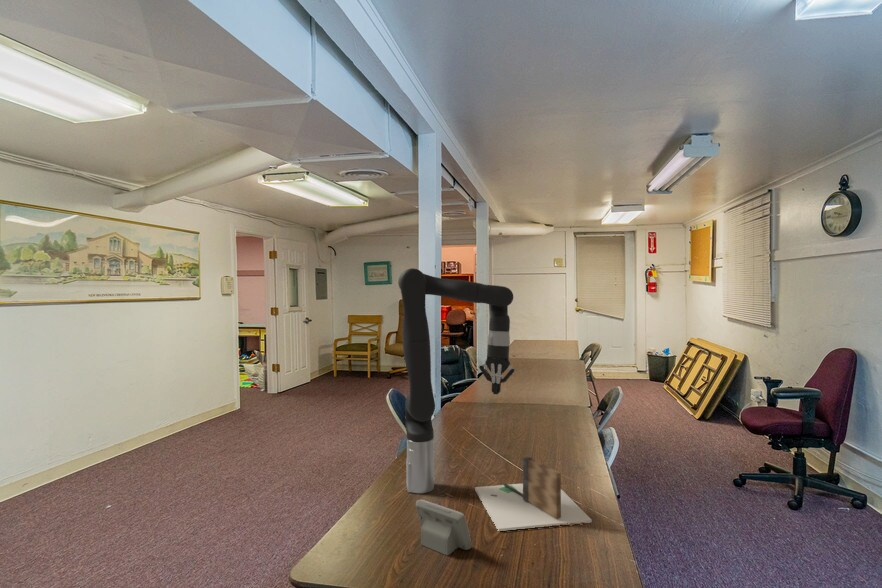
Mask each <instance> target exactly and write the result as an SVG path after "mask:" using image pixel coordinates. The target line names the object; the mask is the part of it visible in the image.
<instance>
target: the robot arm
mask: <svg viewBox="0 0 882 588" xmlns="http://www.w3.org/2000/svg"><path fill="white" fill-rule="evenodd" d="M397 282H398V287H399V289H400V294H401V299H402V300H401V301H402V306H403V319H402V332H401V333H402V352H403V357H404V363H405V366H406V370H407V371H406V372H407V373H408V379H409V381H408V382H409V393H408V394H407V396H406V398H405V403H404V409H405V410H404V411H405V412H404V413H405V414H404V415H405V418H404V419H405V431H406V459H405V462H406V464H405V468H406V469H405V470H406V471H405V472H406V473H405V474H406V477H405V478H406V479H405V480H406V485H405V486H406V489H407V492H408V493H414V494H427V493H429V492H431V491H434V488H435V461H434V460H435V458H434V457H435V456H434V455H435V454H434V453H435V452H434V451H435V449H434V448H435V447H434V445H435V443H434V441H435V439H434V438H435V437H434V427H433V423H432V422H433V421H432V417H433V415H434V413H435V411H436V410H435V409H436V403H435V402H436V401H435V397H434V392H433V383H432V376H431V375H432V369H431V368H432V364H431V363H432V360H431V359H432V358H431V340H430V339H431V338H430V330H429V323H428V318H427V312H426V311H427V310H426V295H429V296H438V297H439V296H440V297H444V298H449V299H452V300H456V301H461V302H468V303H474V304H486V305H488V308H489V309H488V310H489V327H488V329H489V330H488V336H487V350H486V351H487V353H486V360H485V361H484V363H483V364H481V365H479V370H480V372H481V373H482V374H483V376H484V378H485V379H486V380H487V382H488V381H489V382H490V383H491V393H492V394H493V395H499V393H501V391H502V390H501V389H502V386H501V385H502V383H503V384H504V383H505V382H508V379H510V377H511V376H512V375H513V374H514V373H515V372H516V368H514V367H513V366H511V363H510V357H509V356H510V344H511V342H510V341H511V340H510V338H511V337H510V329H511V327H510V325H511V319H510V316H509V313H508V309H509V308H508V307H509V306H510V305H511V304H512V302H513V301H514V293H513V292H512V290H511V289H510V288H509V287H506V286H501V285H495V284H494V285H492V284H485V283H480V282H475V281H469V280H462V279H450V278H441V277H437V276H436V277H435V276H432V275H429V274H426V273H424V272H422V271H421V270H419V269H417V268H414V267H413V268H408V269H405V270H404V271H403V272H402V273H400V274H399V277H398V281H397ZM488 370H489V371H488ZM506 371H507V374H505V376H504V377H503V374H504V373H505V372H506ZM490 373H491V374H490Z"/></svg>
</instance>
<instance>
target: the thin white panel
mask: <svg viewBox="0 0 882 588" xmlns="http://www.w3.org/2000/svg"><path fill="white" fill-rule="evenodd" d="M508 485H509V486H510V487H512V488H514V489H515V490H517V491H519V492H520V493H522V494H523V483H513V484H511V483H509V484H508ZM474 491H475V493H476V494H477V496H478V498H479V500H480V502H481V501H482V502H481V503H482V505H483V507H484V509H485V511H486V510H487V511H486V512H487V514H488V516H489V517H491V518H490V519H491V521H492V523H493V522H494V523H493V525H494V524H495V525H494V526H496V527H495V528H496V530H497V529H498V530H497V532H498V531H506V530H516V529H525V528H535V527H544V526H552V525H560V524H567V523H568V524H570V523H581V522H592V523H593V521H592V518H590V516H589V515H588V514H587V513H585V511H584V510H583V509H582V508H581V507H579V505H577V504H576V502H575V501H573V500H572V498H571V497H570V496H569V495H568V494H567V493H566V492H565V491H564V490H562V488H561V518H558V519H556V518H555V517H553V516H551V515H550V514H548V513H546V512H545V511H543V510H542V509H540V508H538V507H537V506H535V505H533V504H532V503H530V502H528V501H524V500H523V497H522V496H520V495H518V494H517V493H515V492H513V491H512V490H510V489H509V488H507V487H505V486H504V484H500V485H499V484H498V485H486V486H476V487H474Z"/></svg>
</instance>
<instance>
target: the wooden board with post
mask: <svg viewBox="0 0 882 588" xmlns="http://www.w3.org/2000/svg"><path fill="white" fill-rule="evenodd" d="M561 476H562V474H561V472H560V471H557V470H555V469H554V468H551V467H549V466H547V465H545V464H543V463H542V462H541V463H540V462H539V461H536V460H535V459H533V458H532V457H530V456H523V457H522V484H523V494H522V493H520V492H519V491H517V490H515V489H514V488H512V487H510V486H509V485H510V484H507V483H504V484H503V485H504V486H505V487H507V488H509V489H510V490H512V491H513V492H515V493H517V494H518V495H520V496H522V497H523V500H524V501H528V502H530V503H532V504H533V505H535V506H537V507H538V508H540V509H542V510H543V511H545V512H546V513H548V514H550V515H551V516H553V517H555V518H556V519H558V518H561V489H562V487H561V486H562V482H561V481H562V480H561V479H562V478H561Z"/></svg>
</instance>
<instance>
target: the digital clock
mask: <svg viewBox="0 0 882 588" xmlns="http://www.w3.org/2000/svg"><path fill="white" fill-rule="evenodd" d="M415 509H416V513H417V516H418V519H419V522H420V527H421V528H420V545H421V546H423V547H426V548H429V549H430V550H433V551H435V552H438V553H440V554H442V555H445V556H449V555H451V554H452V553H453V552H455V551H456V550H457V549H458V548H460V549H462V550H466V551H467V550H470V549H472V546H473V545H472V539H471V535H470V529H469V527H468V522H467V519H466V516H465V514H464V513H463V512H461V511H457V510H455V509H452V508H448V507H446V506H443V505H439V504H437V503H433V502H431V501H428V500H425V499H417V500H416V501H415ZM455 549H456V550H455ZM454 550H455V551H454Z"/></svg>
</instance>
